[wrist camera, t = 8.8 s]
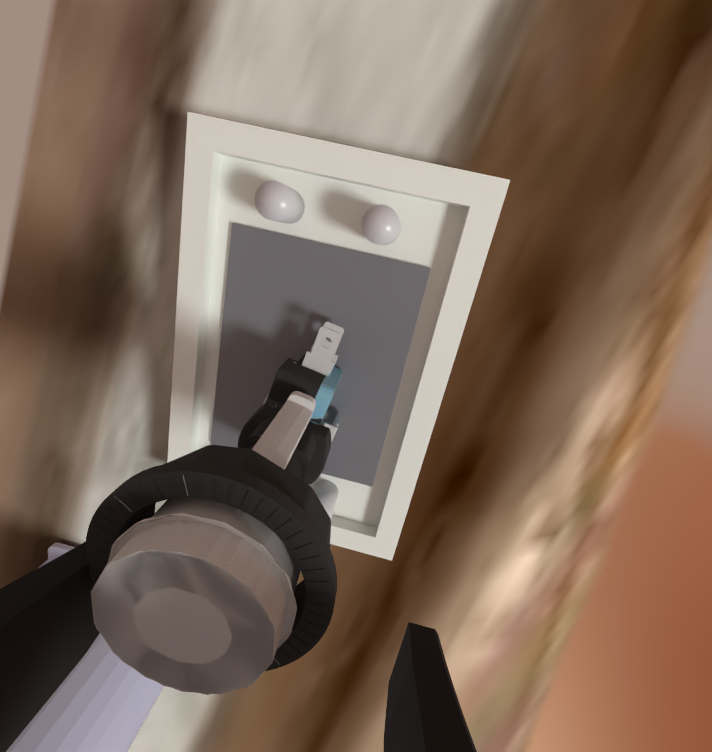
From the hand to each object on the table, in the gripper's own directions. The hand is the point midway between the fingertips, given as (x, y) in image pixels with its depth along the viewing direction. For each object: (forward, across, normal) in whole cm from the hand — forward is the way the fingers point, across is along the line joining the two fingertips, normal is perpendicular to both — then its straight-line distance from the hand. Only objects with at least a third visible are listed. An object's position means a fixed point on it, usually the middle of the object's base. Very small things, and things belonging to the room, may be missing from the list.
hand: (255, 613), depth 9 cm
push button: (+8, +1, -2) cm, 9 cm away
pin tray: (+10, +1, -4) cm, 11 cm away
